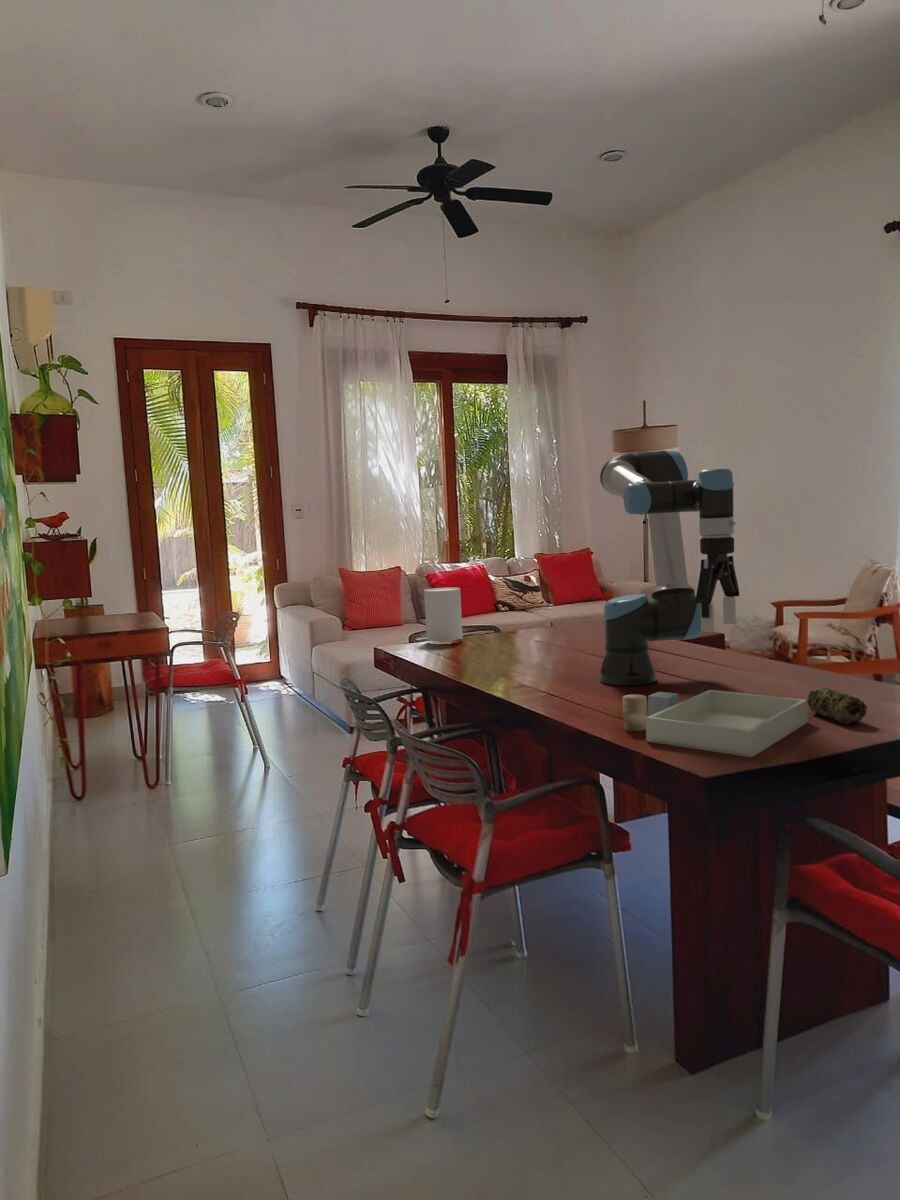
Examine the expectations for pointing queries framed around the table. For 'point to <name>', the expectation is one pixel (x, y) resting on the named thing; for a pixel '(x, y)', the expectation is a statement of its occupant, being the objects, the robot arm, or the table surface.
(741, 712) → the tote
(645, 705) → the beech cylinder
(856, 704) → the coral
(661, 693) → the slate cube
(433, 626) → the canister
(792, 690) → the table surface
